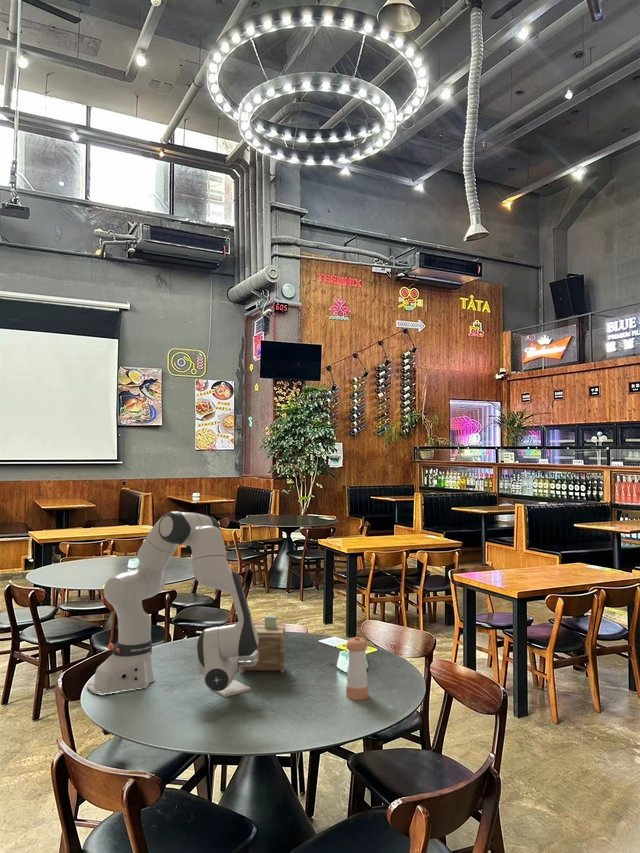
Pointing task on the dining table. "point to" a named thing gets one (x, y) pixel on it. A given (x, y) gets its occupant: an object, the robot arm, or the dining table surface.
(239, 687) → the ceramic tile
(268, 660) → the box
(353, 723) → the dining table surface
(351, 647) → the pepper shaker
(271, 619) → the sage block
